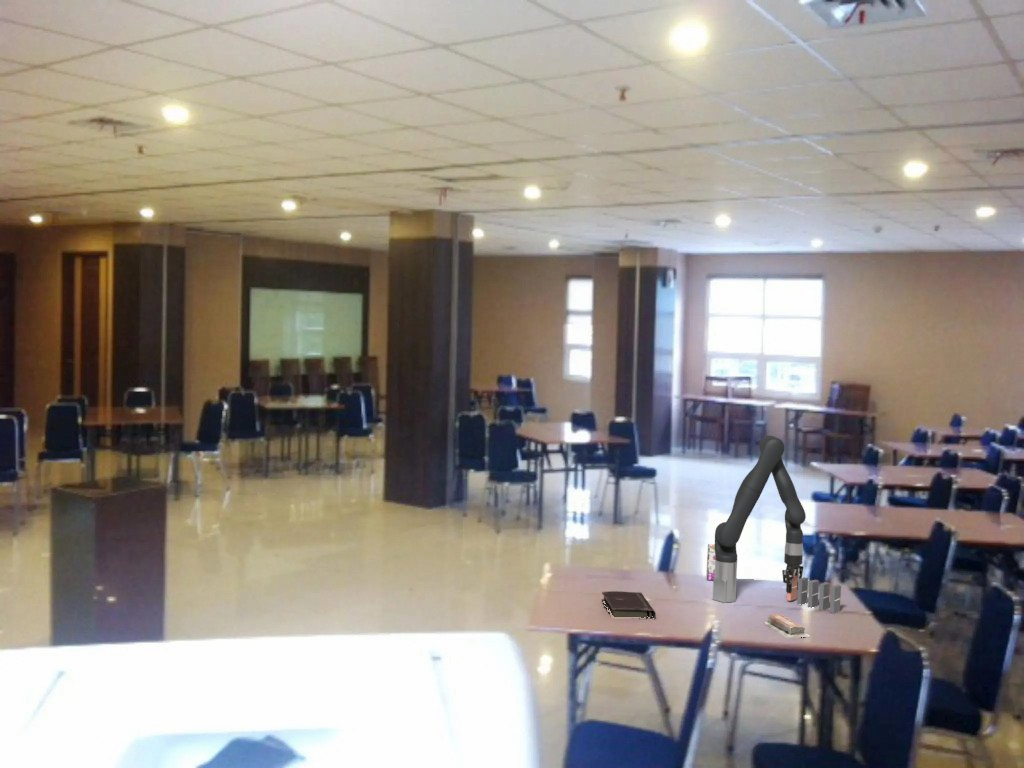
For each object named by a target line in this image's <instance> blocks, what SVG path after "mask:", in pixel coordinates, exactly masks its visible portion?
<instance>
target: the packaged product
mask: <svg viewBox="0 0 1024 768" xmlns="http://www.w3.org/2000/svg"><path fill="white" fill-rule="evenodd" d="M765 625H766V626H765ZM763 626H765V627H767V626H768V627H769V628H768V627H767V628H768V629H770V628H771V629H772V630H771V629H770V630H771V631H773V630H774V631H776V632H778V633H779V634H781V635H783V636H784V637H786V638H798V639H804V638H803V637H811V635H810V634H808V633H806V632H805V629H806V628H805V627H804V626H803V625H801V624H799V623H797V622H795V621H794V620H792V619H790V618H789V617H787V616H785V615H784V614H780V613H773V614H769V615H768V616H767V621H764V622H763ZM774 631H773V632H774ZM776 632H775V633H776ZM778 633H777V634H778ZM779 634H778V635H779ZM781 635H780V636H781ZM783 636H782V637H783ZM784 637H783V638H784ZM801 637H802V638H801ZM786 638H785V639H786Z"/></svg>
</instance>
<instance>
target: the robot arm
mask: <svg viewBox="0 0 1024 768" xmlns="http://www.w3.org/2000/svg"><path fill="white" fill-rule="evenodd" d="M758 447H759V451H760V455H759V458H758V460H757V462H756V463H755V465H754V466H753V468H752V469H751V470H750V471H749V472H748V473H747V474H746V476H745V477H744V479H743V480H742V482H741V483H740V486H739V487H738V489H737V492H736V494H735V498H734V501H733V505H732V509H731V512H730V515H729V516H728V518H727V520H726V521H724V522H721V523H719V524H718V525H717V526H716V528H715V530H714V544H715V578H714V581H712V582H713V585H712V600H713V601H717V602H720V603H724V604H725V603H733V602H736V599H737V598H736V595H737V569H738V554H737V543H738V542H739V540H740V538H741V536H742V533H743V531H744V527H745V525H746V522H747V521H748V519H749V517H750V515H751V514H752V512H753V510H754V508H755V506H756V504H757V503H758V500H759V499H760V497H761V495H762V493H763V491H764V488H765V486H766V484H767V483H768V481H769V478H770V476H771V475H772V476H773V479H774V482H775V486H776V489H777V491H778V492H777V493H778V495H779V498H780V501H781V502H782V503H783V504H784V506H785V509H786V510H785V511H784V512H785V513H784V523H785V525H784V526H785V531H786V532H785V544H784V559H783V560H784V563H785V565H786V568H785V569H782V571H781V572H782V573H781V574H782V582H783V583H784V584H785V585H786V588H785V593H787V592H788V593H791V592H792V580H793V579H794V576H797V581H798V579H800V578H803V573H804V566H803V565H802V564H803V557H804V555H803V554H804V545H803V541H804V538H803V537H804V531H803V530H802V528H801V524H804V523H805V521H806V517H807V515H806V512H805V511H806V510H805V509H804V506H803V504H802V503H801V500H800V499H799V497H798V493H797V491H796V487H795V485H794V482H793V480H792V478H791V476H790V474H789V472H788V470H787V467H786V466H785V464H784V461H783V458H782V457H783V455H784V453H785V449H786V448H785V443H784V441H783V440H782V439H780V438H778V437H776V436H774V435H765V436H764V437H762V438H761V439H760V441H759V445H758ZM789 575H792V577H789ZM797 591H798V582H797Z"/></svg>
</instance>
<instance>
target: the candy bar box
mask: <svg viewBox="0 0 1024 768" xmlns="http://www.w3.org/2000/svg"><path fill="white" fill-rule="evenodd" d="M706 559H707V560H706V575H705V576H706V577H707V578H706V577H705V578H706V581H712V582H713V581H714V578H715V543H707V556H706Z"/></svg>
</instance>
